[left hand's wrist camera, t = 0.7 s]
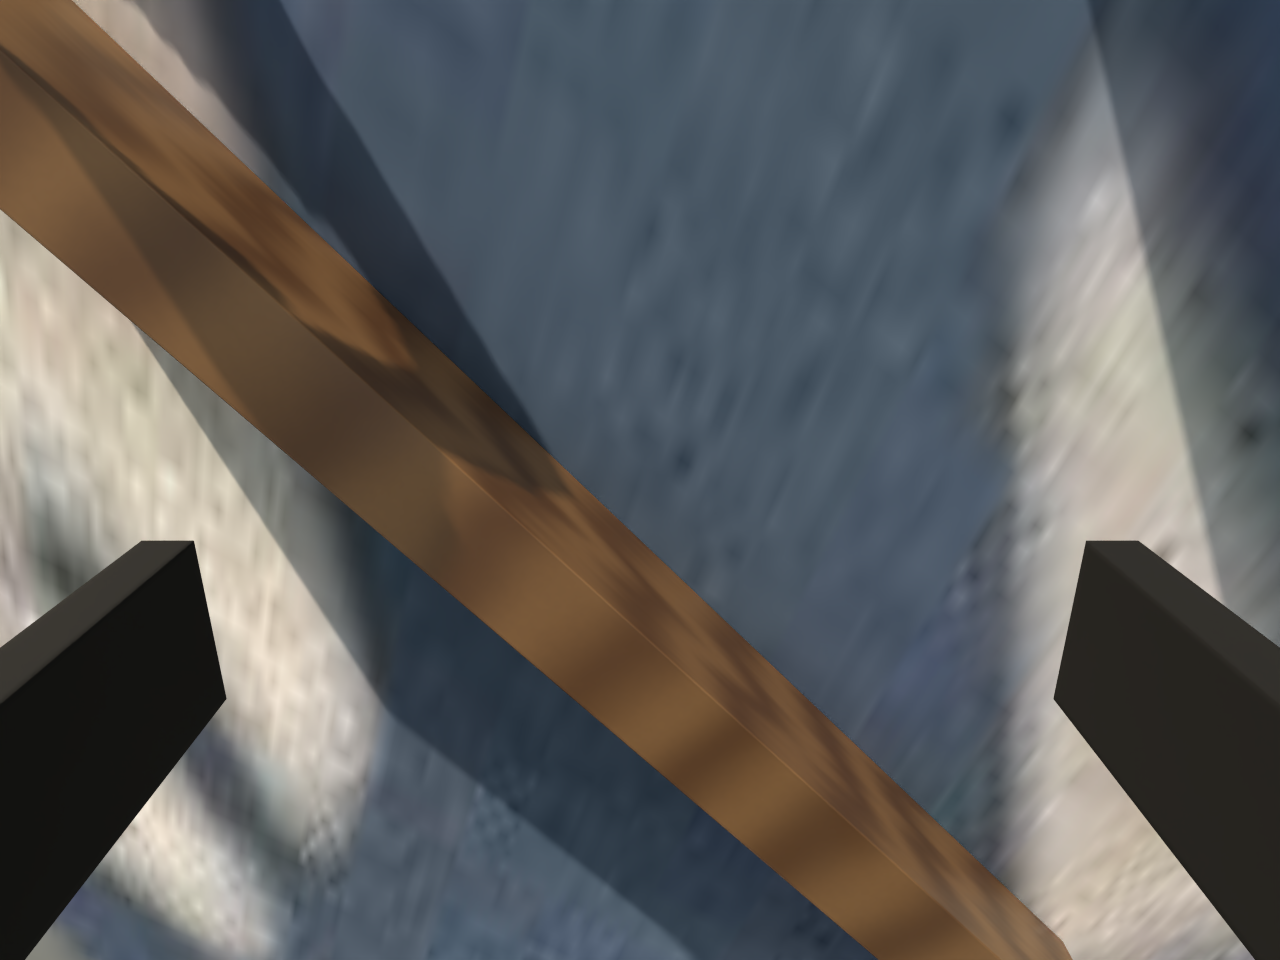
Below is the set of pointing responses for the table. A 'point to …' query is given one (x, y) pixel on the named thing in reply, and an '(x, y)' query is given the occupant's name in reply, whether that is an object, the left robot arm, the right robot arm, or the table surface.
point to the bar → (464, 488)
